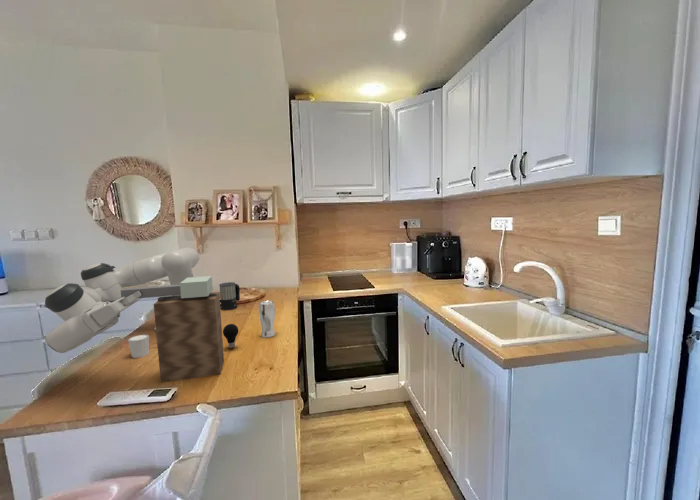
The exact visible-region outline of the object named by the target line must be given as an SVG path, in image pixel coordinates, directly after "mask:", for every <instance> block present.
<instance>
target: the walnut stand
mask: <svg viewBox="0 0 700 500" xmlns="http://www.w3.org/2000/svg"><path fill="white" fill-rule="evenodd" d="M220 299H221V298H220V291H219V292H211V293H210V294H209V296H204V297H192V298H181V295H179V296H162V297H157V301H156V302H155V303H153V311H154V312H153V314H154V324H155V327H156V330H155V334H156V345H157V355H158V365H159V366H158V368H159V375H160V376H159V377H160V383H166V382H175V381H181V380H189V379H195V378H202V377H210V376H216V375H221V372H222V370H223V366H224V362H225V359H224V358H225V356H224V354H225V353H224V343H223V328H222V316H221V315H222V313H221V307H220V305H221V302H220Z"/></svg>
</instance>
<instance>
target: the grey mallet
mask: <svg viewBox="0 0 700 500" xmlns="http://www.w3.org/2000/svg"><path fill="white" fill-rule="evenodd" d="M122 289H123V290H120V291H121V297H125V298H126V297H128V296H130V295H132V294H134V293H135V292H137V291H141V293H142V296H140V297H138V298H142V299H145V298H146V299H147V298H159V297H166V296H174V295H181V298H192V297H204V296H209V294H210V293H213V292H212V291H213V290H214V287H213V276H212V275H208V276H207V275H205V276H193V277H189V278H186V279H185V280H183V281H182V282H181V283H180V285H170V284H169V285H156V286H153V285H152V286H141V287H124V288H122Z"/></svg>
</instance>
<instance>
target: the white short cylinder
mask: <svg viewBox="0 0 700 500" xmlns="http://www.w3.org/2000/svg"><path fill="white" fill-rule="evenodd" d="M127 341H128V345H129V350H130V354H131V355H130V356H131V358H134V359H135V358H136V359H137V358H142V357H146V356H148V355H149V351H150V349H149V348H150V336H149V334H138V335H134V336H131V337H129V338H128V339H127Z"/></svg>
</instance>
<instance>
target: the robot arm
mask: <svg viewBox="0 0 700 500" xmlns="http://www.w3.org/2000/svg"><path fill="white" fill-rule="evenodd" d="M199 260H200V254H199V252H198V251H197V250H196V249H194V248H193V247H186V246H185V247H181V248H175V249H172V250H170V251H167V252H162V253H159V254H156V255H153V256H149V257H147V258H143V259H140V260H137V261H132V262H129V263H128V264H125V265H123V266H121V267H119V268H117V269H116V266H114V265H110V264H108V263H104V262H100V263H98V262H97V263H93V264H90V265H88V266H86V267H85V268H84V269H82V270H81V272H80V278H81V280H82V281H83V283H84V285H85V286H81V285H79V283H69V282H68V283H66V284H62V285H60V286H58V287H56V288H54V289H53V290H51V291H50V292H49V293H48V294H47V295H46V297H45V300H44V307H45V308H47V309H49V310H50V311H51V312H52V313H54V314H56V315H57V316H58V317H59V318H61V320H63V323H60V324H59V325H57V326H56V327H55V328H52V330H51V331H50V332H49V333H47V334H46V335H45V337H44V339H45V340H44V341H45V343H46V345H47V346H48V347H49V348H51V350H53V351H55V352H56V353H60V354H64V353H68V352H69V351H72V350H74V349H77V348H78V347H80V346H82V345H84V344H86V343H87V342H89V341H91V339H92V338H94V337H95V336H97V335H99V334H101V333H104V332H105V331H107V330H108V329H109V330H110V328H112V327H113V326H115V325H116V324H118V322H119V318H120V317H121V312H123V311H125V310H126V309H128V308H130V307H131V306H132V305H134V304H135V303H137V302H138V301H140V300H142V299H143V298H138V297H140V296H142V293H141V291H137V292H135V293H134V294H132V295H130V296H128V297H126V298H125V297H121V291H120V290H123V289H124V288H131V287H135V286H140V285H144V284H146V283H151V282H154V281H156V280H160V279H163V278H165V277H167V278H168V280H169V285H180V283H181V282H182V281H183V280H185V279H186V278H189V277H194V274H193V268H194V267H196V266H197V264H198V263H199ZM174 296H179V295H174ZM153 329H154V331H156V326H155V327H154V328H153Z"/></svg>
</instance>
